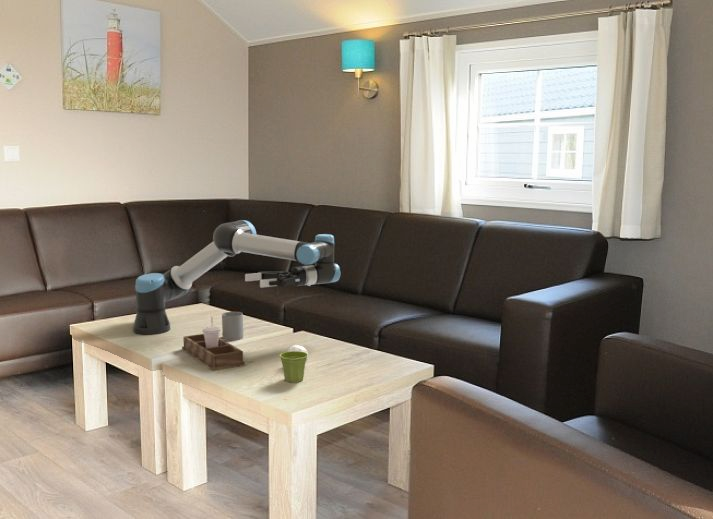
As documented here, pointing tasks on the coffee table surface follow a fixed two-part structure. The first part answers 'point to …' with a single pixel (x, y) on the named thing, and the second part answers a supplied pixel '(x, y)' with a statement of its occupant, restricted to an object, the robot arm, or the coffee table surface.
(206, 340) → the smoothie
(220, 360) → the caddy
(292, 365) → the plant pot
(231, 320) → the cup
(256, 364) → the coffee table surface
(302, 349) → the geometric ball
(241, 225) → the robot arm
